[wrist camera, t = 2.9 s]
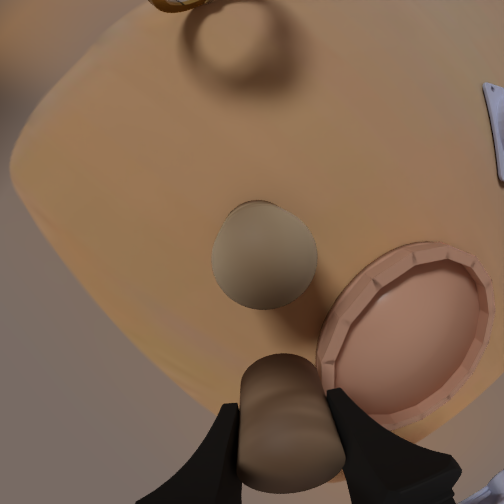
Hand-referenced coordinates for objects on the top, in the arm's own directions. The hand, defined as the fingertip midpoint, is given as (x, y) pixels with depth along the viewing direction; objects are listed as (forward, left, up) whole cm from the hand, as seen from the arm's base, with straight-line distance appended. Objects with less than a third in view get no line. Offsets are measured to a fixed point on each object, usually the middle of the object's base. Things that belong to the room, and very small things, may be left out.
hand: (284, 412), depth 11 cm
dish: (-10, +2, -6) cm, 12 cm away
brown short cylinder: (0, 0, -2) cm, 2 cm away
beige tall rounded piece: (0, -7, -6) cm, 9 cm away
